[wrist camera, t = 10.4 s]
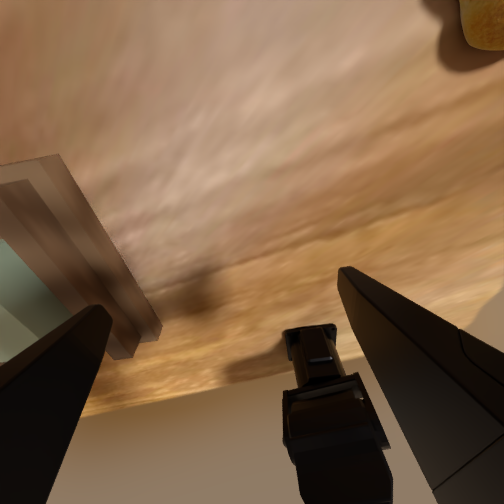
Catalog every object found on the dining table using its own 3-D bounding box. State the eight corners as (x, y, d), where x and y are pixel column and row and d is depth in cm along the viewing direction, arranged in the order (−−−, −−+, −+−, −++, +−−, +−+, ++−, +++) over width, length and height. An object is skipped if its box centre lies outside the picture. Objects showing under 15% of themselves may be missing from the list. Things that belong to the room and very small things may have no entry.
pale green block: (84, 318, 23) (57, 354, 20) (31, 326, 24) (-4, 362, 20) (11, 237, 18) (-42, 267, 14) (-56, 249, 18) (-123, 281, 15)
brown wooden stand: (162, 326, 27) (150, 361, 24) (28, 345, 28) (-4, 381, 25) (58, 154, 16) (3, 168, 13) (-154, 195, 17) (-263, 220, 14)
